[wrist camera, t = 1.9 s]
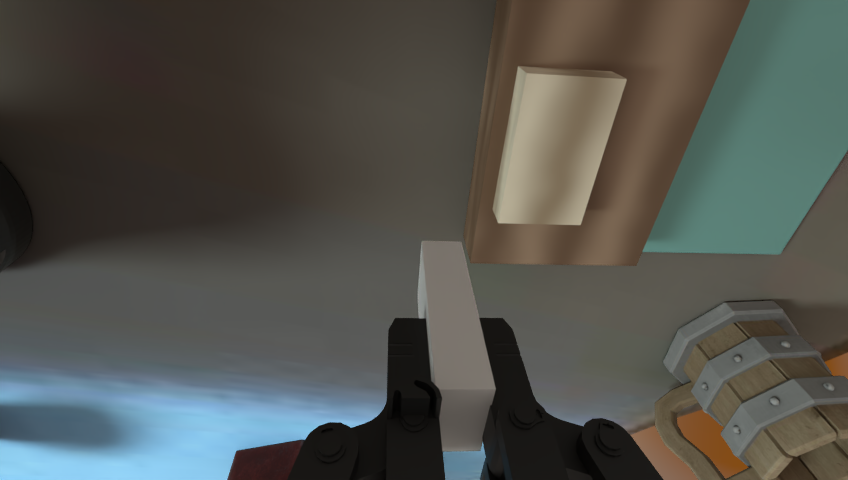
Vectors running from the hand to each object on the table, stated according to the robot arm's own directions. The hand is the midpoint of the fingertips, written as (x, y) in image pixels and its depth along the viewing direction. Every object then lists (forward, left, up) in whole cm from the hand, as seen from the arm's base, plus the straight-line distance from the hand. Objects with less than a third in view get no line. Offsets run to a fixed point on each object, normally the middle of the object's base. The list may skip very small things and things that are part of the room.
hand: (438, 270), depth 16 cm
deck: (+12, 0, -18) cm, 21 cm away
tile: (+9, 0, -14) cm, 16 cm away
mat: (+27, 0, -18) cm, 33 cm away
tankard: (+34, -26, -18) cm, 46 cm away
